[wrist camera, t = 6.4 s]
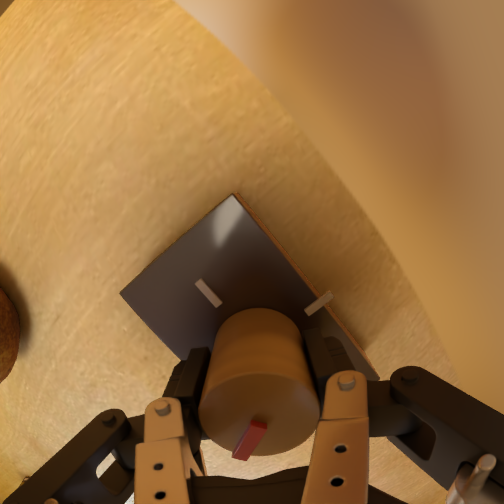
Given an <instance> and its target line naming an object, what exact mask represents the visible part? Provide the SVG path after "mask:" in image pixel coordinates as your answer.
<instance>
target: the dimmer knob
mask: <svg viewBox="0 0 504 504" xmlns="http://www.w3.org/2000/svg"><path fill="white" fill-rule="evenodd" d="M198 418H199V422H200V425H201V427H202V429H203V430H204V432H205V433H206V435H207V436H208V437H209V438H210V439H211V440H212V441H213V442H215V443H216V444H218V445H219V446H221V447H223V448H225V449H227V450H229V451H232V458H235V459H239V460H243V461H247V460H248V458H249V457H250V456H268V455H275V454H279V453H283V452H286V451H289V450H291V449H293V448H295V447H297V446H299V445H300V444H302V443H303V442H305V441H306V440H307V439H308V438H309V437H310V436H311V435H312V434H313V433H314V431H315V430H316V427H317V422H318V420H319V419H320V418H321V404H320V400H319V397H318V393H317V390H316V386H315V383H314V379H313V376H312V372H311V369H310V365H309V362H308V358H307V355H306V351H305V348H304V344H303V341H302V338H301V335H300V332H299V330H298V328H297V326H296V325H295V324H294V322H293V321H292V320H291V319H289V318H288V317H287V316H285V315H284V314H282V313H280V312H278V311H275V310H272V309H267V308H251V309H246V310H243V311H240V312H238V313H236V314H234V315H232V316H231V317H229V318H228V319H227V320H226V321H225V322H224V323H223V324H222V325H221V327H220V328H219V330H218V332H217V335H216V338H215V342H214V346H213V350H212V354H211V358H210V362H209V366H208V370H207V374H206V378H205V382H204V386H203V391H202V395H201V399H200V403H199V407H198Z"/></svg>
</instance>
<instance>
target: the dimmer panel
mask: <svg viewBox="0 0 504 504" xmlns="http://www.w3.org/2000/svg"><path fill="white" fill-rule="evenodd" d="M119 294H120V295H121V296H122V297H123V299H124V300H125V301H126V302H127V303H128V304H129V306H130V307H131V308H132V309H133V310H134V311H135V312H136V313H137V315H138V316H139V317H140V318H141V319H142V320H143V321H144V322H145V323H146V325H147V326H148V327H149V328H150V329H151V330H152V331H153V332H154V333H155V334H156V335H157V336H158V337H159V338H160V339H161V340H162V342H163V343H164V344H165V345H166V346H167V347H168V348H169V349H170V350H171V351H172V352H173V353H174V354H175V355H176V356H177V357H178V358H179V359H180V360H181V361H182V360H187V358H188V355H189V352H190V350H191V349H193V348H201V347H208V348H209V350H210V353H211V354H212V350H213V346H214V342H215V338H216V335H217V332H218V330H219V328H220V327H221V325H222V324H223V323H224V322H225V321H226V320H227V319H228V318H229V317H231V316H232V315H234V314H236V313H238V312H240V311H243V310H246V309H251V308H267V309H272V310H275V311H278V312H280V313H282V314H284V315H285V316H287V317H288V318H289V319H291V320H292V321H293V322H294V324H295V325H296V326H297V328H298V330H299V332H300V335H301V338H302V341H303V336H302V331H304V330H309V329H313V328H318V327H319V329H320V331H321V334H322V336H323V338H324V337H329V336H334V337H336V338H337V339H339V340H340V341H341V342H342V344H343V346H344V348H345V350H346V352H347V354H348V356H349V358H350V360H351V362H352V364H353V366H354V367H355V369H356V371H358V372H360V373H362V374H363V375H364V376H365V377H366V379H367V380H371V381H378V380H380V377H379V376H378V374H377V372H376V371H375V369H374V367H373V366H372V364H371V362H370V361H369V359H368V357H367V356H366V354H365V353H364V351H363V350H362V349H361V347H360V346H359V345H358V343H357V342H356V341H355V339H354V338H353V337H352V335H351V334H350V333H349V331H348V330H347V329H346V328H345V326H344V325H343V324H342V322H341V321H340V320H339V318H338V317H337V316H336V315H335V313H334V312H333V311H332V309H331V308H330V307H329V306H328V304H327V302H329V301H330V300H331V299H333V298H334V296H333V294H332V293H331V292H330V291H328V292H326V293H325V294H324V295H322V296H321V295H320V294H319V293H318V292H317V290H316V289H315V288H314V286H313V285H312V284H311V283H310V281H309V280H308V279H307V278H306V276H305V275H304V274H303V273H302V271H301V270H300V269H299V267H298V266H297V265H296V264H295V262H294V261H293V260H292V259H291V257H290V256H289V255H288V254H287V252H286V251H285V250H284V249H283V247H282V246H281V245H280V244H279V242H278V241H277V240H276V239H275V238H274V236H273V235H272V234H271V233H270V231H269V230H268V229H267V228H266V226H265V225H264V224H263V223H262V222H261V220H260V219H259V218H258V217H257V215H256V214H255V213H254V212H253V211H252V209H251V208H250V207H249V206H248V204H247V203H246V202H245V201H244V200H243V198H242V197H241V196H240V195H239V194H238V193H237V192H235V193H232V194H230V195H229V196H228V197H227V198H226V199H224V200H223V201H222V202H221V203H220V204H218V205H217V206H216V207H215V208H214V209H212V210H211V211H210V212H209V213H208V214H206V215H205V216H204V217H203V218H202V219H201V220H199V221H198V222H197V223H196V224H195V225H194V226H192V227H191V228H190V229H189V230H188V231H187V232H185V233H184V234H183V235H182V236H181V237H180V238H179V239H177V240H176V241H175V242H174V243H173V244H172V245H171V246H170V247H168V248H167V249H166V250H165V251H164V252H163V253H162V254H161V255H159V256H158V257H157V258H156V259H155V260H154V261H153V262H152V263H151V264H150V265H148V266H147V267H146V268H145V269H144V270H143V271H142V272H141V273H140V274H139V275H138V276H136V277H135V278H134V279H133V280H132V281H131V282H130V283H129V284H128V285H127V286H126V287H125V288H124V289H123V290H122V291H120V293H119ZM303 344H304V343H303Z"/></svg>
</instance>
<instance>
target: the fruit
mask: <svg viewBox="0 0 504 504" xmlns="http://www.w3.org/2000/svg"><path fill="white" fill-rule="evenodd" d="M19 338H20V323H19V316H18V313H17V311H16V309H15V307H14V306H13V304H12V302H11V301H10V300H9V298H8V297H7V296H6V294H5V293H4V291H3V290H2V289H1V288H0V383H1V382H2V381H3V380H4V379H5V378H6V377H7V376H8V375H9V373H10V372H11V370H12V368H13V366H14V363H15V361H16V359H17V354H18V349H19Z"/></svg>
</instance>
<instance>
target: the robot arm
mask: <svg viewBox="0 0 504 504" xmlns="http://www.w3.org/2000/svg"><path fill="white" fill-rule="evenodd" d="M302 336H303V343H304V348H305V351H306V355H307V358H308V362H309V365H310V369H311V372H312V376H313V379H314V383H315V386H316V390H317V393H318V397H319V400H320V404H321V418H320V419H319V420H318V422H317V427H316V432H315V438H314V444H313V449H312V454H311V459H310V464H309V465H308V466H303V467H297V468H291V469H286V470H283V471H280V472H277V473H274V474H271V475H267V476H264V477H261V478H257V479H254V480H247V479H238V478H231V477H224V476H208V475H207V471H206V466H205V461H204V457H203V452H202V449H201V447H200V443H201V440H207V439H210V438H209V437H208V436H207V435H206V433H205V432H204V430H203V429H202V427H201V425H200V422H199V418H198V407H199V403H200V399H201V395H202V391H203V386H204V382H205V378H206V374H207V370H208V366H209V362H210V358H211V353H210V350H209V348H208V347H201V348H193V349H191V350H190V352H189V355H188V358H187V360H182V361H180V362H179V363H178V364H177V365H176V366H175V367H174V369H173V372H172V376H171V377H170V379H169V381H168V384H167V386H166V389H165V391H164V394H163V396H162V398H159V399H156V400H154V401H153V402H151V403H150V404H149V405H148V406H147V407H146V409H145V414H143V415H139V416H135V417H130V418H127V417H126V415H125V413H124V412H123V411H122V410H120V409H109V410H106V411H103V412H101V413H100V414H99V415H97V416H96V417H95V418H94V419H93V420H92V421H91V422H90V423H89V424H88V425H87V426H86V427H84V428H83V429H82V430H81V431H80V432H79V433H78V434H77V435H76V436H75V437H74V438H73V439H71V440H70V441H69V442H68V443H67V444H66V445H65V446H64V447H63V448H62V449H61V450H59V451H58V452H57V453H56V454H55V455H54V456H53V457H52V458H51V459H50V460H49V461H47V462H46V463H45V464H44V465H43V466H42V467H41V468H40V469H39V470H37V471H36V472H35V473H34V474H33V475H32V476H31V477H30V478H29V479H28V480H26V481H25V482H24V483H23V484H22V485H21V486H20V487H19V488H18V489H16V490H15V491H14V492H13V493H12V494H11V495H10V496H9V497H7V498H6V499H5V500H4V502H3V503H2V504H125V502H126V501H127V500H128V499H129V497H130V496H131V495H132V494H133V492H134V504H408V503H406V502H404V501H401V500H399V499H397V498H395V497H393V496H391V495H389V494H387V493H385V492H383V491H381V490H379V489H377V488H375V487H373V486H371V485H369V484H368V479H369V437H384V436H386V437H387V438H388V440H389V441H390V442H392V443H393V444H394V445H395V446H396V447H397V448H398V449H399V450H401V451H402V452H403V453H404V454H405V455H406V456H407V457H409V458H410V459H411V460H412V461H413V462H414V463H415V464H417V465H418V466H419V467H420V468H421V469H422V470H424V471H425V472H426V473H427V474H428V475H429V476H431V477H432V478H433V479H434V480H435V481H436V482H438V483H439V484H440V485H441V486H442V487H444V488H445V489H446V490H447V491H448V493H447V495H446V504H504V415H503V414H501V413H500V412H498V411H496V410H494V409H492V408H491V407H489V406H487V405H485V404H484V403H482V402H480V401H479V400H477V399H475V398H473V397H472V396H470V395H468V394H466V393H465V392H463V391H461V390H459V389H458V388H456V387H454V386H453V385H451V384H449V383H447V382H446V381H444V380H442V379H440V378H439V377H437V376H435V375H434V374H432V373H430V372H428V371H427V370H425V369H423V368H421V367H417V366H406V367H402V368H399V369H397V370H396V371H394V372H393V373H392V375H391V377H390V380H386V381H371V380H367V379H366V377H365V376H364V375H363V374H362V373H360V372H358V371H356V369H355V367H354V366H353V364H352V362H351V360H350V358H349V356H348V354H347V352H346V350H345V348H344V346H343V344H342V342H341V341H340V340H339V339H337V338H336V337H334V336H329V337H324V338H323V336H322V334H321V331H320V329H319V327H318V328H313V329H309V330H304V331H302ZM110 452H111V453H112V455H113V456H114V458H115V459H116V460H115V461H114V462H113V463H112V464H111V465H110V467H109V468H108V469H107V470H106V471H105V472H104V473H103V474H102V475H101V476H100V478H99V479H98V477H97V476H96V469H97V467H98V465H99V464H100V463H101V462H102V461H103V460H104V459H105V458H106V457H107V456H108V455H109V453H110Z"/></svg>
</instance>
